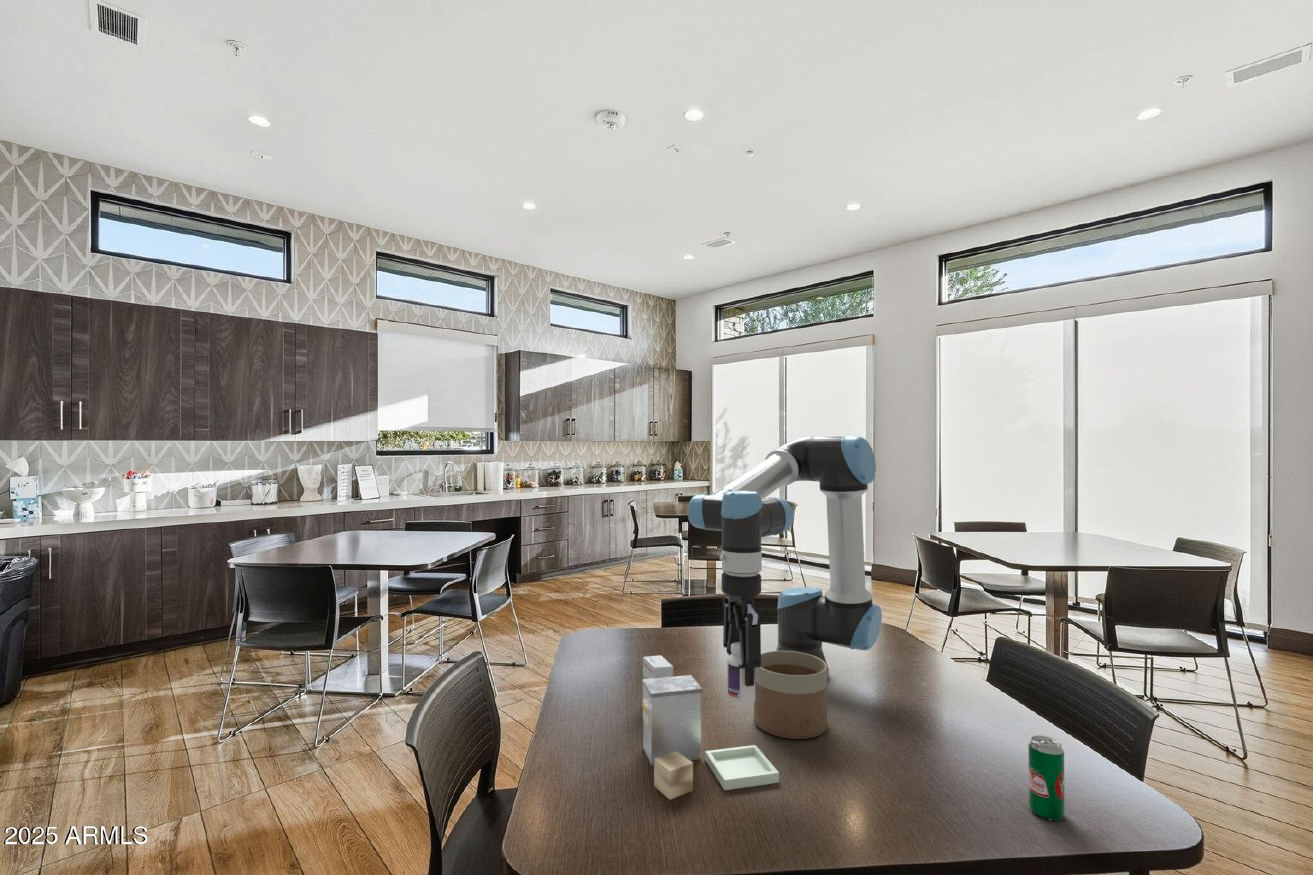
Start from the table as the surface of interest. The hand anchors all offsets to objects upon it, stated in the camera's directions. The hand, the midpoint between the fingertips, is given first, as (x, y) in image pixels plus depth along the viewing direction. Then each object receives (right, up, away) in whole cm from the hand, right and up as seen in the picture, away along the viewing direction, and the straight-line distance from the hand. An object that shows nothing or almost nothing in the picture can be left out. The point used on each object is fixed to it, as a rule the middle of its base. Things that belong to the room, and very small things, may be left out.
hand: (741, 694), depth 114 cm
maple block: (-13, -14, -6) cm, 20 cm away
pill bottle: (0, -1, 0) cm, 1 cm away
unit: (-13, -14, +6) cm, 20 cm away
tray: (0, -14, 0) cm, 14 cm away
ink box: (-16, -15, +25) cm, 33 cm away
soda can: (+50, -15, -13) cm, 53 cm away
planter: (+14, -15, +19) cm, 28 cm away
